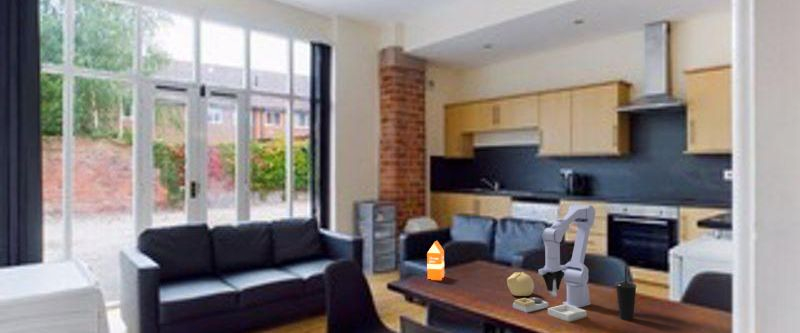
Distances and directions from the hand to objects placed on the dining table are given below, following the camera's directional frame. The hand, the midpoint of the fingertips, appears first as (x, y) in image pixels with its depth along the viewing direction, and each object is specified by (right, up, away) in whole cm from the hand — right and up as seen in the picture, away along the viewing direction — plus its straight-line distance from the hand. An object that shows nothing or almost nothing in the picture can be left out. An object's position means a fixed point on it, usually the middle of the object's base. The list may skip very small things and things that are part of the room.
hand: (553, 289), depth 194 cm
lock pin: (0, -3, 0) cm, 3 cm away
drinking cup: (+27, -10, -7) cm, 30 cm away
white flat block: (-7, -10, +9) cm, 15 cm away
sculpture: (-6, -10, +28) cm, 30 cm away
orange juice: (-44, -10, +63) cm, 77 cm away
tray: (+5, -10, -3) cm, 11 cm away
